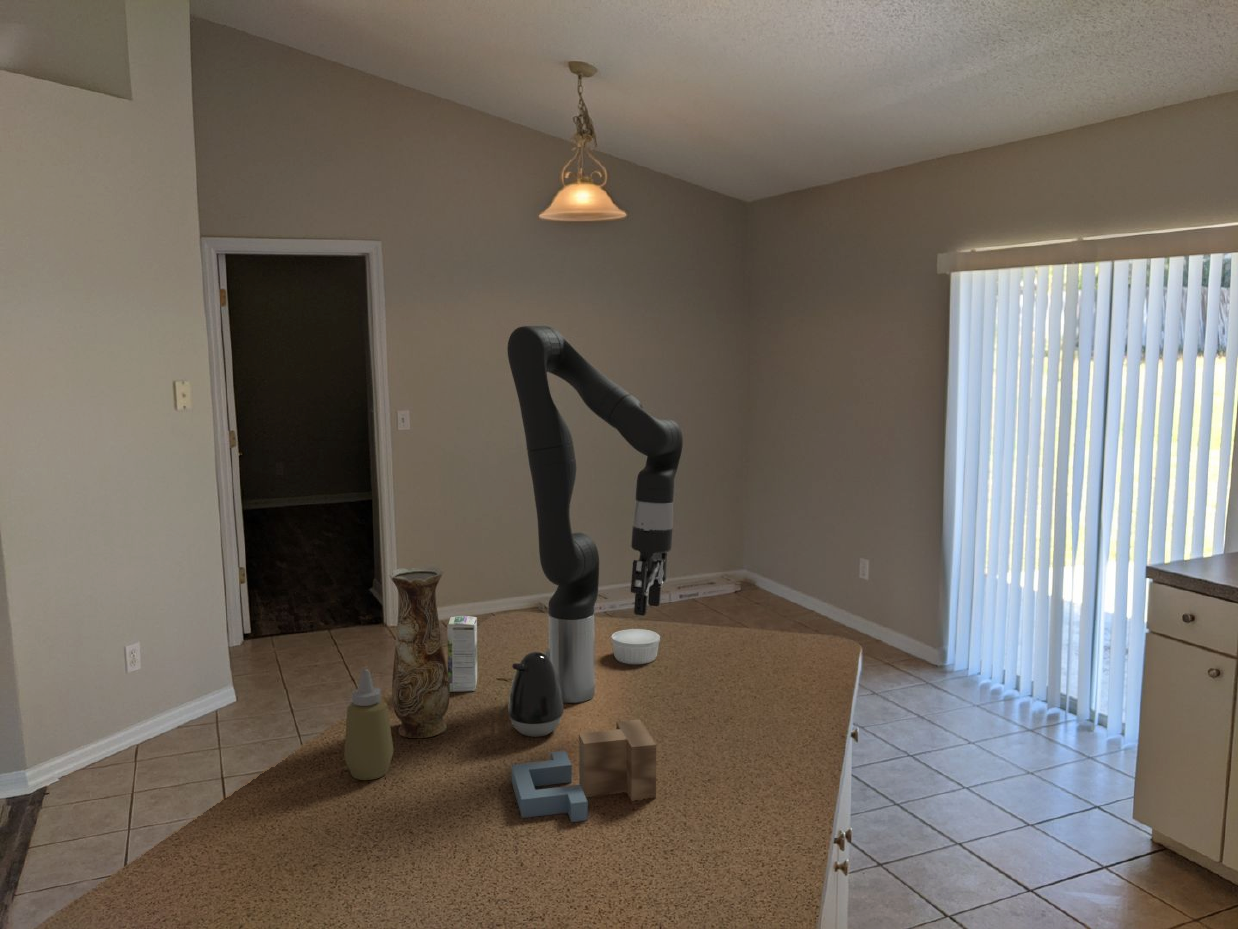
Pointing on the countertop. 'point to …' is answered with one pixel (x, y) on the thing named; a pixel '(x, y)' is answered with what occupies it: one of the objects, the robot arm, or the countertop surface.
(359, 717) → the squeeze bottle
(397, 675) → the vase
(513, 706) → the roly-poly penguin toy
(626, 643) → the ramekin
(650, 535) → the robot arm
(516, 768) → the t socket
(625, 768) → the t block
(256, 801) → the countertop surface
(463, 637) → the syrup box
